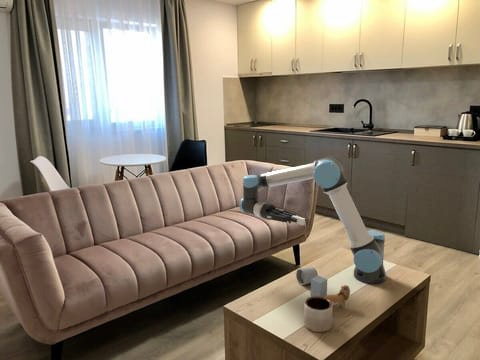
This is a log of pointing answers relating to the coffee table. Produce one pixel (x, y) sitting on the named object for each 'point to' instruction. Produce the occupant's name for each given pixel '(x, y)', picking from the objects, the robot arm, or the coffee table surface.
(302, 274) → the ceramic mug
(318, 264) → the coffee table surface
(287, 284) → the coffee table surface
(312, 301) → the planter
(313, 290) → the slate block
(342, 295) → the lion figurine
